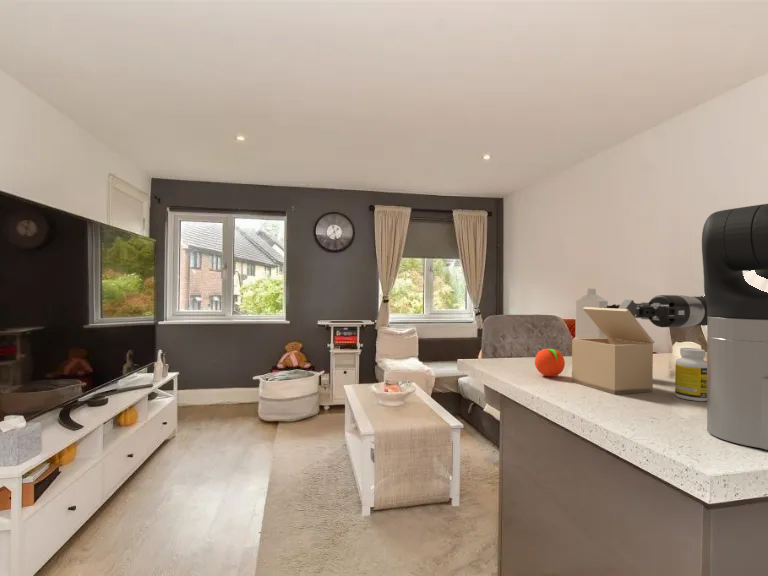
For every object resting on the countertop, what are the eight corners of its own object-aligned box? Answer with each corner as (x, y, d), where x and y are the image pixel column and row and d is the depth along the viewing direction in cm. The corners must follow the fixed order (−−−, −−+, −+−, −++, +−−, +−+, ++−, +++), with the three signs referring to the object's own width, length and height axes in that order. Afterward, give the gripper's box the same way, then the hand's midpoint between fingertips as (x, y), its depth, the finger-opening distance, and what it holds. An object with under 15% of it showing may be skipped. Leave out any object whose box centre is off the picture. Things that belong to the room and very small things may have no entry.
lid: (652, 344, 85) (669, 321, 86) (626, 311, 83) (643, 288, 84) (606, 337, 97) (622, 318, 98) (582, 308, 95) (598, 289, 96)
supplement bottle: (705, 403, 76) (705, 351, 76) (671, 397, 80) (671, 348, 80) (712, 399, 80) (712, 349, 80) (679, 393, 84) (679, 346, 84)
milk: (607, 372, 106) (608, 288, 106) (599, 375, 102) (600, 288, 102) (583, 368, 111) (584, 288, 111) (574, 371, 106) (575, 288, 107)
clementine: (572, 380, 95) (572, 350, 95) (542, 380, 95) (542, 350, 95) (557, 373, 103) (557, 346, 103) (530, 373, 103) (530, 345, 103)
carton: (652, 391, 85) (652, 344, 85) (614, 394, 82) (614, 345, 82) (606, 379, 96) (606, 338, 97) (572, 381, 94) (572, 338, 94)
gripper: (707, 329, 88) (649, 330, 83) (647, 324, 102) (595, 325, 97) (707, 295, 88) (649, 294, 83) (648, 294, 102) (595, 294, 97)
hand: (620, 311), depth 90 cm, fingers open, 8 cm apart
